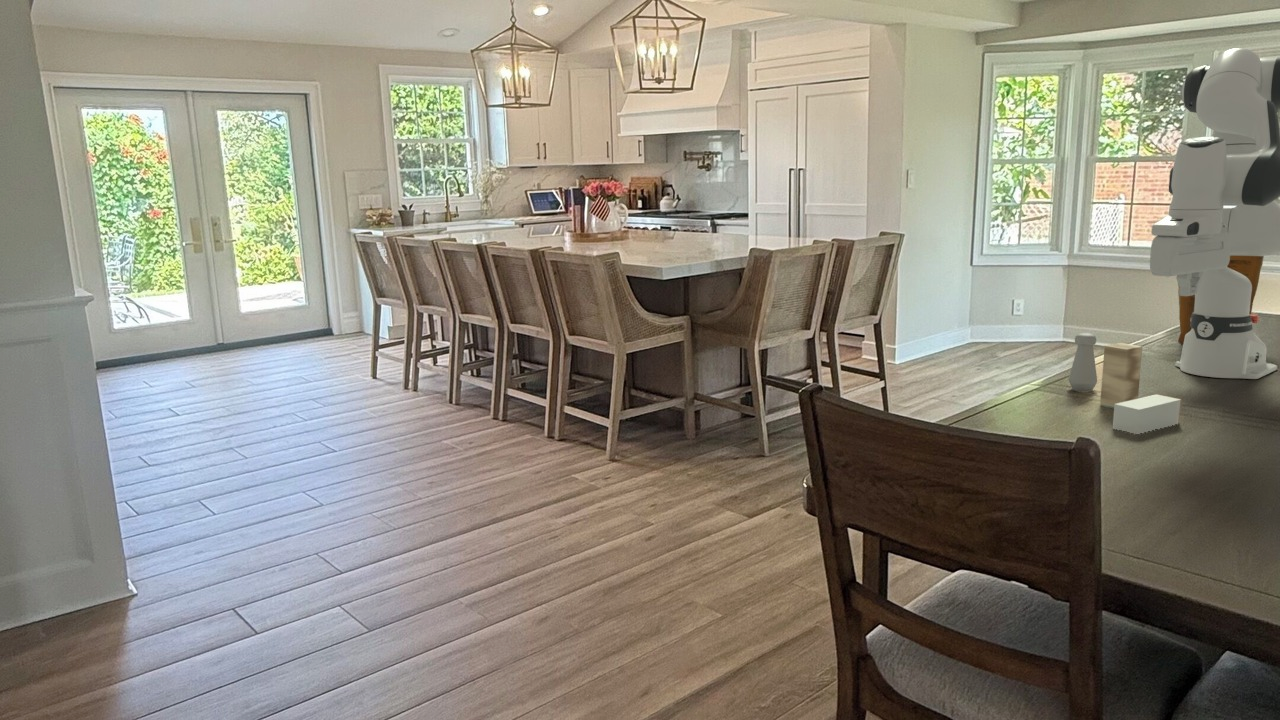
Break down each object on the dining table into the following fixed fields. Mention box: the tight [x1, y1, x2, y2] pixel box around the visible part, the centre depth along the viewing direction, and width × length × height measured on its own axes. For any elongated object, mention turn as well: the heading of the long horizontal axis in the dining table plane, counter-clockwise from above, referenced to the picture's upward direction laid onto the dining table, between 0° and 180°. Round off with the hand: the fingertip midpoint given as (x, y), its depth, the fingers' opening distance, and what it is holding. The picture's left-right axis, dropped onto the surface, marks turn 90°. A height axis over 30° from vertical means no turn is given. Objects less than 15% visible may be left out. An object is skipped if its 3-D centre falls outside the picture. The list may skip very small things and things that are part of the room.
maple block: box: [1099, 342, 1143, 410], centre depth 186 cm, size 5×5×13 cm
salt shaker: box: [1068, 332, 1098, 393], centre depth 200 cm, size 6×6×13 cm
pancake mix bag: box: [1177, 256, 1265, 344], centre depth 239 cm, size 7×19×28 cm, turn 53°
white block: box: [1112, 393, 1182, 435], centre depth 173 cm, size 5×5×13 cm
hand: (1188, 295), depth 173 cm, fingers closed
